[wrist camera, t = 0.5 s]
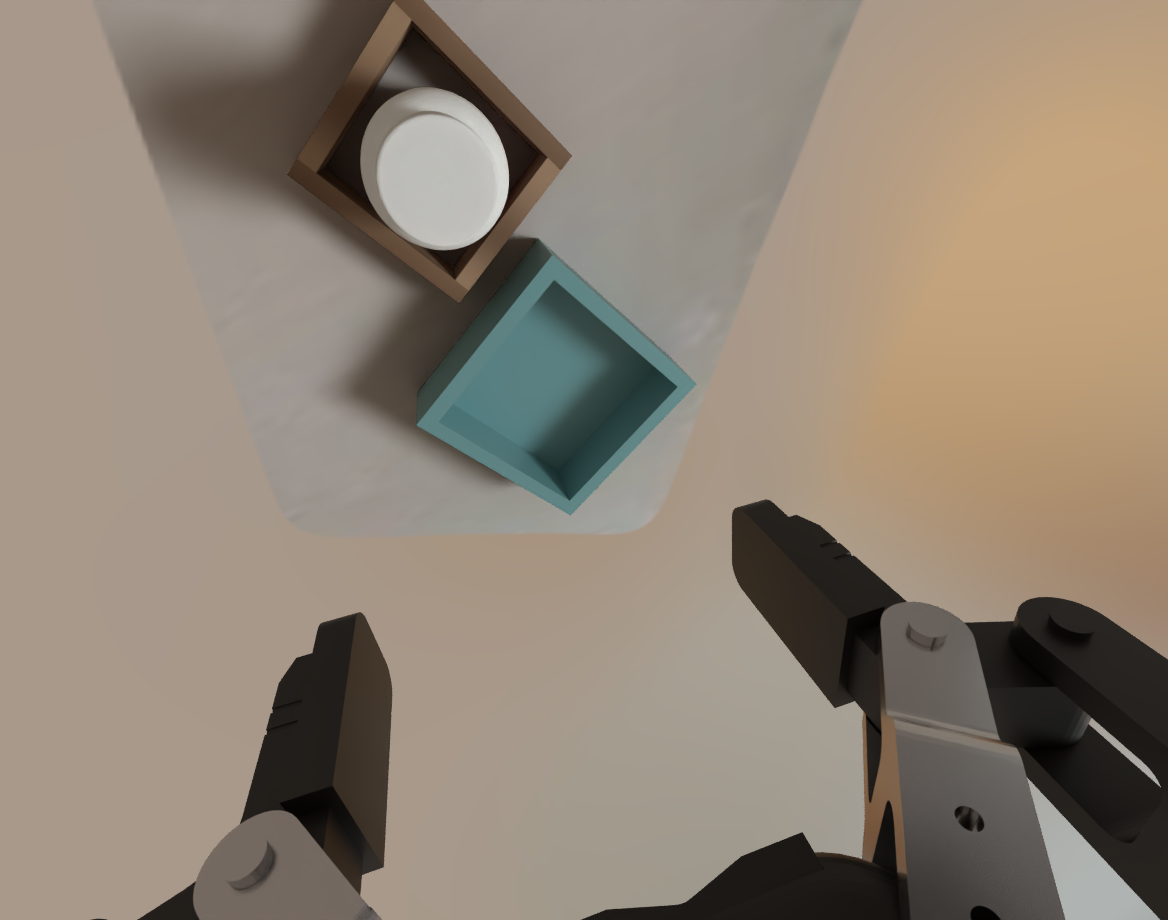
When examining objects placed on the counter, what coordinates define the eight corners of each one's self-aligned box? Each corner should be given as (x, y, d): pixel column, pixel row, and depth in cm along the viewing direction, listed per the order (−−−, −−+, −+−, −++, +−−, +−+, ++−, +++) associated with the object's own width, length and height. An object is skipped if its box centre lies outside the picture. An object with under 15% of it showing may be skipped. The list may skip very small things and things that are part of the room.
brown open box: (407, -7, 23) (405, -19, 21) (561, 152, 27) (572, 155, 25) (298, 169, 25) (287, 174, 23) (456, 289, 29) (459, 303, 27)
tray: (538, 238, 29) (552, 255, 26) (671, 358, 34) (696, 384, 31) (417, 392, 32) (416, 425, 28) (558, 479, 37) (570, 515, 34)
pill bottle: (426, 243, 28) (425, 298, 20) (348, 138, 25) (309, 152, 17) (514, 180, 27) (550, 210, 19) (445, 65, 24) (453, 43, 16)
